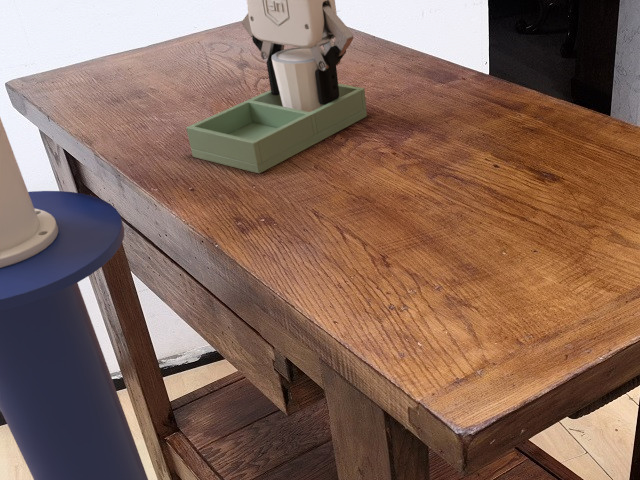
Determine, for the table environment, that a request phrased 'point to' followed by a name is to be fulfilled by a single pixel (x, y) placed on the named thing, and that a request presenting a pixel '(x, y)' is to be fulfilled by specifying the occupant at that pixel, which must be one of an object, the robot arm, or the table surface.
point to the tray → (271, 129)
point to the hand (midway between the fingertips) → (305, 95)
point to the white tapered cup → (297, 78)
